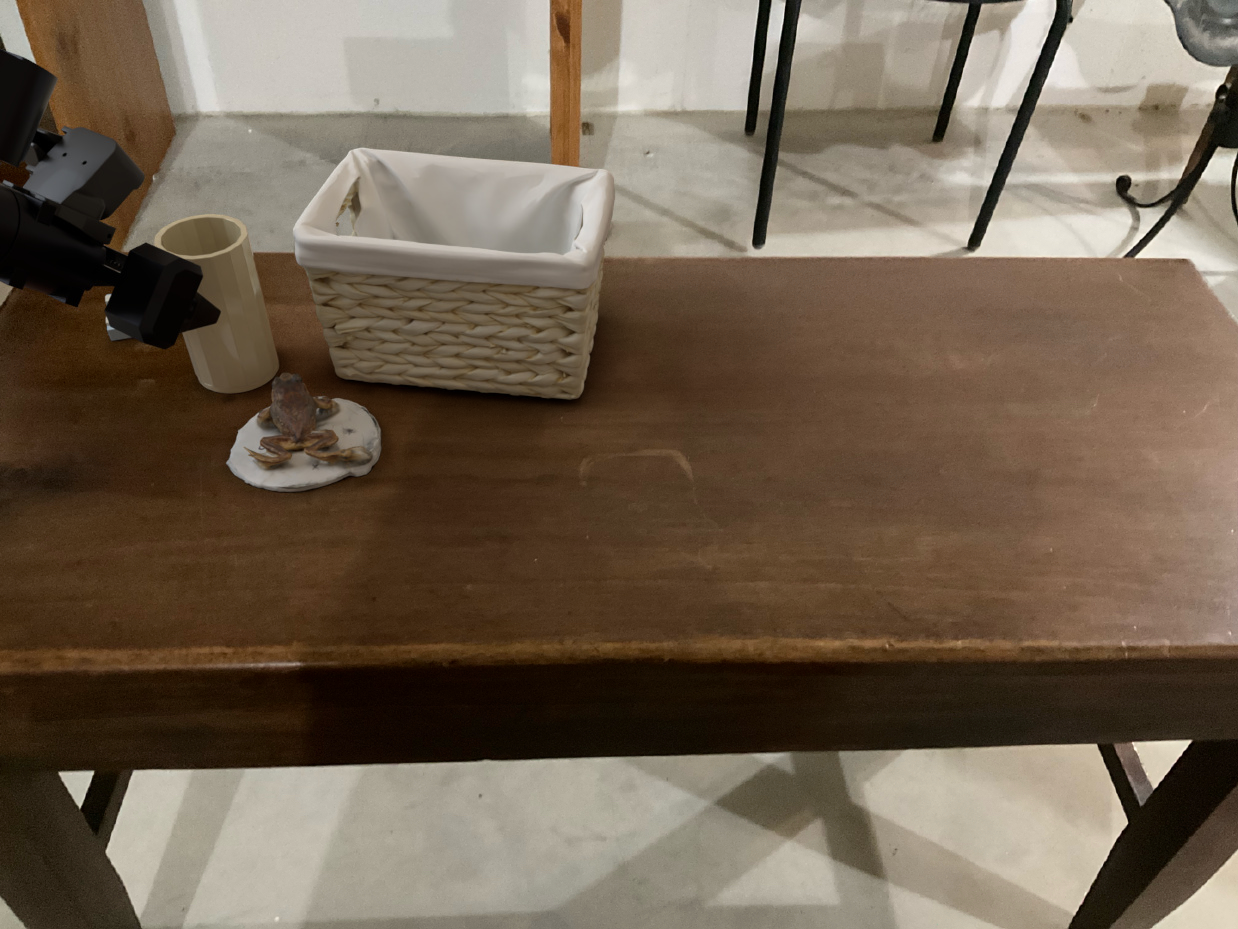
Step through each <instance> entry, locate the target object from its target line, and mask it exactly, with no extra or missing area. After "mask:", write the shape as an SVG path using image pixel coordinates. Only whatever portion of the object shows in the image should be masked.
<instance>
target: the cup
mask: <svg viewBox="0 0 1238 929" xmlns="http://www.w3.org/2000/svg"><path fill="white" fill-rule="evenodd" d="M153 242H154V243H153V246H156V247H158V248H160V249H163V250H165V251H167V252H170V253H172V254H174V255H177V256H179V257H181V258H183V259H186V260H188V261H190V262H193V263H195V264H197V265H199V266H201V269H202V272H203V279H202V281H201V283H200V286H199V288H198V290H197V292H198V293H200V294H201V295H202V296H203V297H205V298H206V299H207V300H208V301H210V302H211V303H212V304H213V305H215V306H216V307H217V308H218V309H220V310H221V314H220V316H219V319H218V321H217V323H216V324H213V325H209V326H205V327H202V328H198V329H194V330H190V331H187V332H183V333H182V335H183V339H184V343H185V346H186V350H187V352H188V355H189V358H190V361H191V364H192V367H193V371H194V374H195V375H196V377H197V380H198V382H199V384H201V385H202V387H204V388H205V389H207V390H209V391H212V392H215V393H220V394H240V393H247V392H250V391H253V390H256V389H258V388H260V387H262V386H264V385H266V384H267V383H268V382H270V381H271V380H272V379H274V378H275V377H276V375H277V373H278V371H279V369H280V360H279V354H278V350H277V345H276V342H275V341H276V340H275V337H274V334H273V333H274V332H273V329H272V325H271V321H270V317H269V313H268V308H267V305H266V299H265V296H264V292H263V287H262V284H261V280H260V275H259V271H258V267H257V264H256V259H255V256H254V251H253V247H252V244H251V239H250V235H249V231H248V227H247V225H245V223H244V222H242V221H241V220H240V219H238V218H235V217H233V216H229V215H226V214H214V213H206V214H198V215H196V214H195V215H190V216H187V217H183V218H180V219H177V220H174V221H172V222H170V223H169V224H167V225H165V226H163V227H161V228H160V230H158V232H157V233H156V234H155V235H154V240H153Z"/></svg>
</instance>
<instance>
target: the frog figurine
mask: <svg viewBox="0 0 1238 929" xmlns="http://www.w3.org/2000/svg"><path fill="white" fill-rule="evenodd" d="M271 388H272V389H271V402H272V403H271V404H270V406H267V407H266V408H264V409H260V410H259V411H258V412H257V413H256V414H255V415H253V417H251V418H250V419H249V420H248V421H247V423H245V424H244V425H243V426H242V427H241V428H240V429H238V430H237V432H238V433H237V435H236V439H235V442H234V443H233V446H232V448H230V454H229V458H228V460H227V461H226V462H225V464H226V466H228V468H229V469H230V471H231V473H232V474H233V475H234V476H236V477H237V478H239V479H240V480H242V481H244V483H246V484H249V485H251V486H252V487H256V488H258V489H265V490H269V491H273V492H280V493H282V492H283V493H284V492H286V493H291V492H292V493H293V492H304V491H308V490H312V489H318V488H321V487H324V486H328V485H330V484H333V483H336V482H338V481H342V480H343V479H344V478H347V477H349V476H351V477H355V478H356V477H362V476H367V475H368V473H370V472H371V471H372V469H373V468H372V467H373V466H375V465H376V463H377V462H378V461H379V459H380V456H381V452H382V429H381V427H380V424H379V422H378V420H377V419H376V417H375V416H374V415H373V414H372V413H370V412H369V410H368V409H367V408H366V407H365V406H363V405H360V404H359V403H357V402H354V401H352V400H349V399H343V398H340V397H335V398H332V399H331V398H329V397H327V396H325V395H323V396H317V397H316V396H311V395H310V392H309V390H308V387H307V385H306V384H305V382H304V381H303V377H302V376H301V375H299V373H292V374H291V373H290V372H282V373H281V374H280V376H274V378H273V381H272V382H271Z"/></svg>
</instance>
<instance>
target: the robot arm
mask: <svg viewBox="0 0 1238 929" xmlns="http://www.w3.org/2000/svg"><path fill="white" fill-rule="evenodd" d="M58 81H59V78H58V77H57V76H56V75H55V74H53V73H52V72H51V71H49V70H48V69H46V68H44V67H42V66H41V65H39V64H37V63H36V62H34V61H32V60H30V59H28V58H26V57H24V56H22V55H19V54H17V53H13V52H11V51H8V50H5V49H2V48H0V166H1V165H2V163H6V164H8V165H10V166H12V167H15V168H17V169H19V167H20V165H21V162H23V163H24V162H25V164H26V166H25V168H24V169H25V170H26V171H27V172H28V173H29V178H28V179H27V181H26V182H25V183H24V184H23V186H19V185H17V184H15V183H13V182H10V181H8V180H6V179H3V181H2V182H0V282H1V283H2V284H5V285H6V286H9V287H12V288H15V289H19V290H21V291H24V288H26V289H30V290H33V291H36V292H39V293H42V294H45V295H47V296H48V297H50V298H53V299H54V300H56V301H59V302H60V303H63V304H65V305H68V306H71V307H75V308H79V306H80V303H81V301H82V298H83V296H84V293H85V292H89V291H91V290H92V289H93V287H113V289H112V291H111V293H110V294H111V296H110V298H109V301H108V303H107V304H106V306H105V308H104V314H105V317H107V319H108V322H109V324H110V327H112V328H114V329H116V330H118V331H120V332H122V333H124V334H126V335H128V336H130V337H132V338H131V339H135V340H136V341H138V342H141V343H143V344H144V345H149V346H151V347H155V348H158V349H161V350H168V349H169V348H172V347H173V346H175V345H176V342H177V340H178V337H179V335H180V334H183V332H187V331H190V330H194V329H198V328H202V327H205V326H209V325H213V324H216V323H217V321H218V319H219V316H220V314H221V310H220V309H218V308H217V307H216V306H215V305H213V304H212V303H211V302H210V301H208V300H207V299H206V298H205V297H203V296H202V295H201V294H200V293H198V292H197V290H198V288H199V286H200V283H201V281H202V279H203V272H202V269H201V266H199V265H197V264H195V263H193V262H190V261H188V260H186V259H183V258H181V257H179V256H177V255H174V254H172V253H170V252H167V251H165V250H163V249H160V248H158V247H156V246H154V244H151V243H148V242H143V243H141V244H140V245H137V246H136V247H134V248H131V249H129V251H128V254H126V253H123V252H121V251H119V250H117V249H114V248H112V247H110V244H111V242H112V240H113V238H114V235H115V232H116V230H117V227H115V226H112V225H110V224H108V223H105V222H103V221H104V220H106V219H109V217H111V216H112V215H113V214H114V213H115V212H116V211H117V209H119V207H120V206H121V205H122V204H123V203H124V202H125V200H126V199H127V198H128V197H129V196H130V195H131V193H132V192H133V191H135V190H138V189H139V188H141V186H142V185H143V184H144V181H145V179H146V176H145V172H144V171H143V170H142V169H141V168H140V167H139V165H137V163H136V162H135V161H134V160H133V159H132V157H130V155H129V154H127V152H126V151H125V150H124V149H123V147H122V146H121V145H120V143H118V142H117V140H115V139H114V138H112V137H109V136H107V135H105V134H102V133H99V132H96V131H94V130H92V129H89V128H86V127H83V126H78V127H74V128H71V127H69V126H66V125H63V127H62V128H61V129H60V131H61V132H62V133H63V134H60V133H59V134H58V133H55V132H53V131H50V130H47V129H45V128H42V127H39V126H40V123H41V121H42V119H43V117H44V114H45V112H46V110H47V107H48V106H49V102H50V100H51V97H52V95H53V92H54V90H55V88H56V85H57V83H58Z"/></svg>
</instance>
